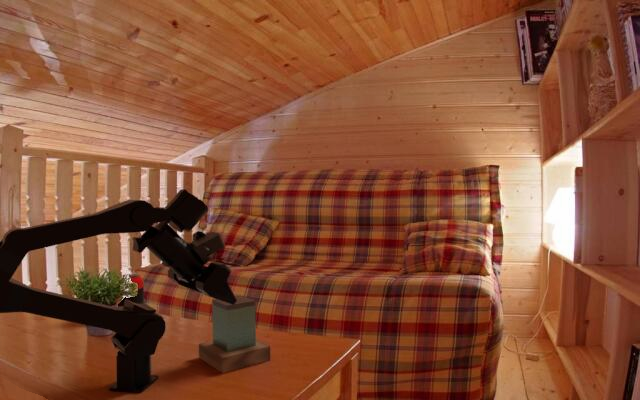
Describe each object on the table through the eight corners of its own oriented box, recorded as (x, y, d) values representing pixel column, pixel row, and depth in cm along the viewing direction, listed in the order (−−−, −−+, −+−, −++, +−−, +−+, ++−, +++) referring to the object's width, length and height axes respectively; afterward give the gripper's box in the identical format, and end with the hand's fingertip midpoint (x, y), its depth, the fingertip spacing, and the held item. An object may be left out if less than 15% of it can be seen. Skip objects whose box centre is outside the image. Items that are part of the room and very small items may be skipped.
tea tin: (227, 352, 93) (226, 305, 93) (212, 344, 98) (212, 299, 98) (255, 345, 97) (255, 300, 97) (240, 338, 102) (240, 295, 102)
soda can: (127, 323, 125) (127, 279, 125) (108, 320, 128) (108, 277, 128) (149, 316, 132) (149, 274, 131) (130, 313, 135) (130, 272, 135)
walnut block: (222, 373, 90) (222, 358, 90) (198, 357, 98) (198, 343, 98) (270, 360, 97) (270, 346, 97) (244, 346, 105) (244, 333, 105)
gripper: (221, 221, 85) (271, 274, 92) (181, 217, 100) (228, 263, 107) (180, 268, 80) (236, 320, 87) (145, 257, 95) (196, 302, 102)
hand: (224, 298), depth 96 cm, fingers open, 9 cm apart
